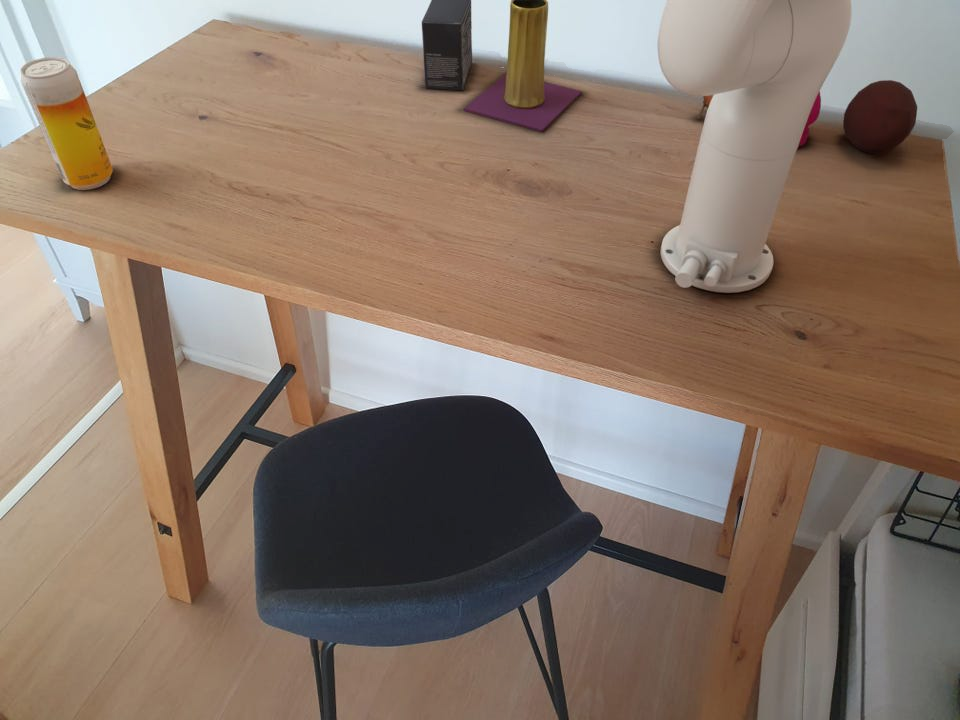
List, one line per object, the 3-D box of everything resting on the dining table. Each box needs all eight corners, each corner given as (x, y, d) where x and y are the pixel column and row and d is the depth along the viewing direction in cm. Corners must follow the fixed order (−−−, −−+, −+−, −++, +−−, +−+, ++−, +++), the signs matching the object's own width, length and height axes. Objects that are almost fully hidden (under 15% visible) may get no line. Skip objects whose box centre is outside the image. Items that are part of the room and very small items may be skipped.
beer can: (123, 179, 100) (82, 66, 89) (78, 197, 97) (30, 83, 86) (100, 162, 103) (58, 51, 92) (56, 179, 99) (7, 66, 89)
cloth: (542, 132, 110) (542, 129, 109) (463, 110, 114) (463, 108, 114) (581, 93, 118) (581, 91, 118) (507, 75, 123) (507, 72, 123)
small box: (434, 60, 127) (431, -7, 119) (473, 62, 126) (473, -4, 119) (422, 88, 119) (419, 19, 112) (464, 91, 119) (463, 22, 111)
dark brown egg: (893, 131, 111) (920, 69, 104) (906, 174, 103) (936, 109, 96) (831, 124, 112) (853, 61, 106) (838, 165, 104) (863, 100, 97)
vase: (549, 94, 117) (556, -3, 107) (538, 111, 113) (544, 12, 103) (511, 88, 119) (514, -9, 109) (498, 105, 115) (501, 6, 105)
